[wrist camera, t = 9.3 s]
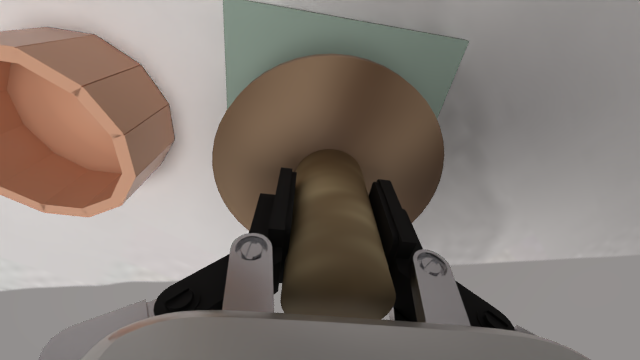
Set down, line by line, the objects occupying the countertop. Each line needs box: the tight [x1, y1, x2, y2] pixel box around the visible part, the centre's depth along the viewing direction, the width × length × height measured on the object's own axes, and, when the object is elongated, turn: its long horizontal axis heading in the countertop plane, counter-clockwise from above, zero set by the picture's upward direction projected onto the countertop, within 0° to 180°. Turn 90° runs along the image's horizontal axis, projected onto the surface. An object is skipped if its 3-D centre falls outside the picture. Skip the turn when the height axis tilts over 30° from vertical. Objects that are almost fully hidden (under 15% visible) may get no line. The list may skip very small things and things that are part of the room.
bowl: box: [0, 27, 174, 217], centre depth 16 cm, size 10×10×5 cm
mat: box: [223, 0, 469, 119], centre depth 19 cm, size 14×14×1 cm
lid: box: [212, 54, 444, 320], centre depth 12 cm, size 12×12×8 cm
